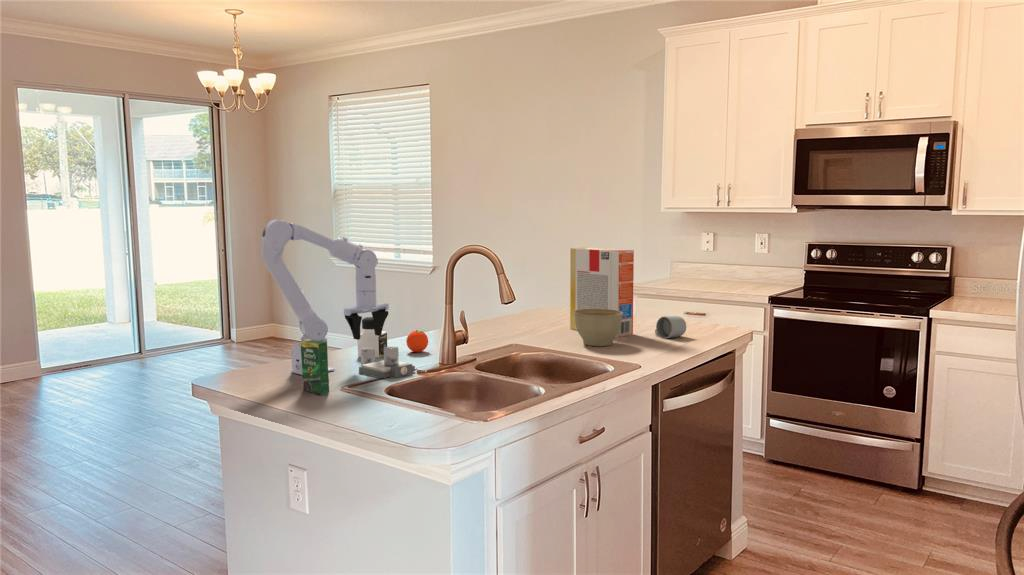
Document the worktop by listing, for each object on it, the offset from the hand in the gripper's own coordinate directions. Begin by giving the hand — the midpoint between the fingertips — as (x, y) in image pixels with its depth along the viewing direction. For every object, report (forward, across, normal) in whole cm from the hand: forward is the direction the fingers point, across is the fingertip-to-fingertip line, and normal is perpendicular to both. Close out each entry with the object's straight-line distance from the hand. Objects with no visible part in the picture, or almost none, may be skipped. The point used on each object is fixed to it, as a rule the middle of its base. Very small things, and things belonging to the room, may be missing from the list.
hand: (367, 337), depth 216 cm
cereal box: (+9, +90, -19) cm, 92 cm away
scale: (+8, -1, -12) cm, 14 cm away
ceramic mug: (+9, +96, -43) cm, 106 cm away
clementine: (+9, +23, +4) cm, 25 cm away
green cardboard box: (+9, -27, -14) cm, 32 cm away
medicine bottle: (+9, +10, +11) cm, 17 cm away
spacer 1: (+8, 0, 0) cm, 9 cm away
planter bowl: (+9, +70, -32) cm, 77 cm away
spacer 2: (+6, -2, -13) cm, 14 cm away
